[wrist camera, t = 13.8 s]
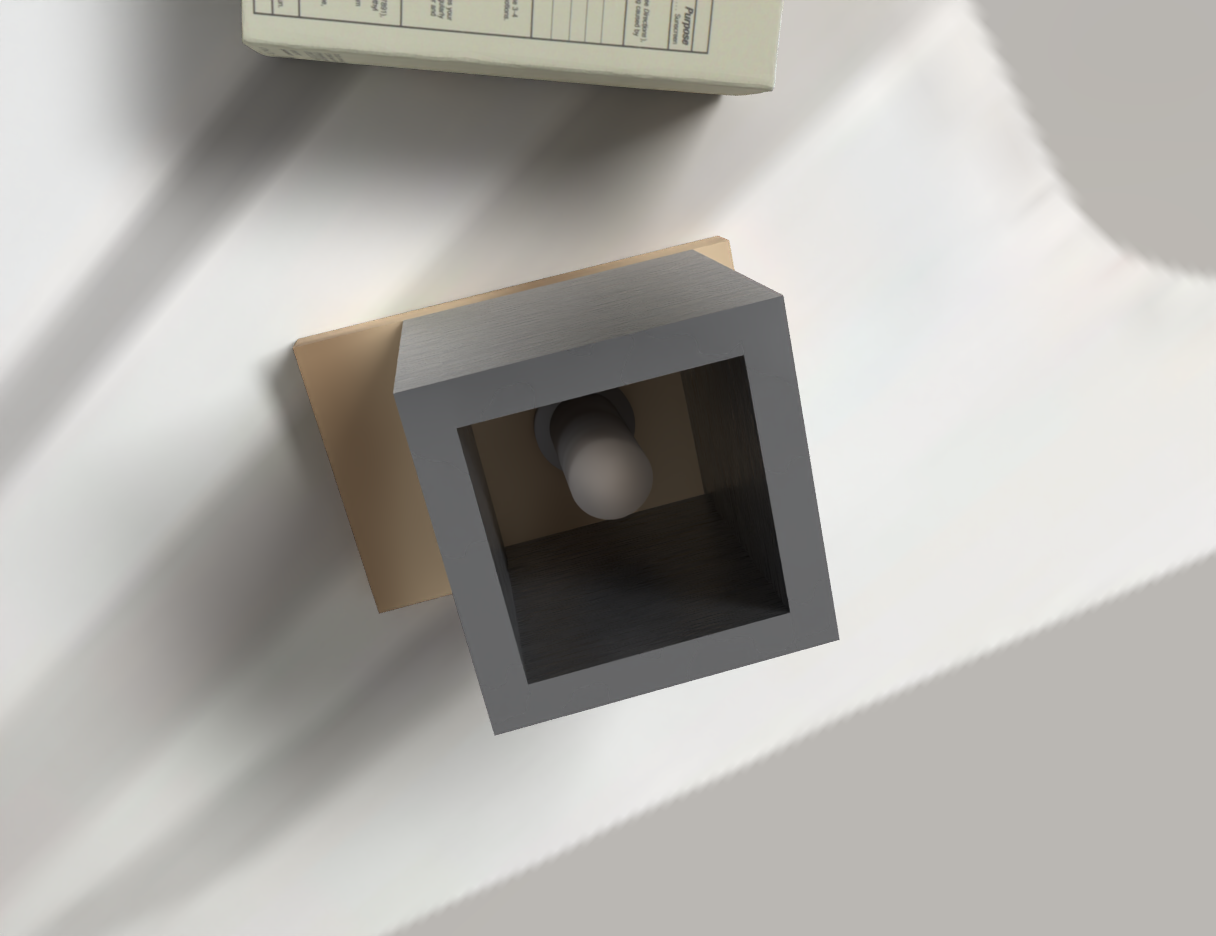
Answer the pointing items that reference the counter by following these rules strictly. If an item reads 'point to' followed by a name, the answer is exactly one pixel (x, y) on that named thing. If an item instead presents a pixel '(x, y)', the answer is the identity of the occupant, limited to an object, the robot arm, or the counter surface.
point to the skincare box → (536, 39)
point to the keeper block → (493, 448)
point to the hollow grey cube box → (640, 542)
